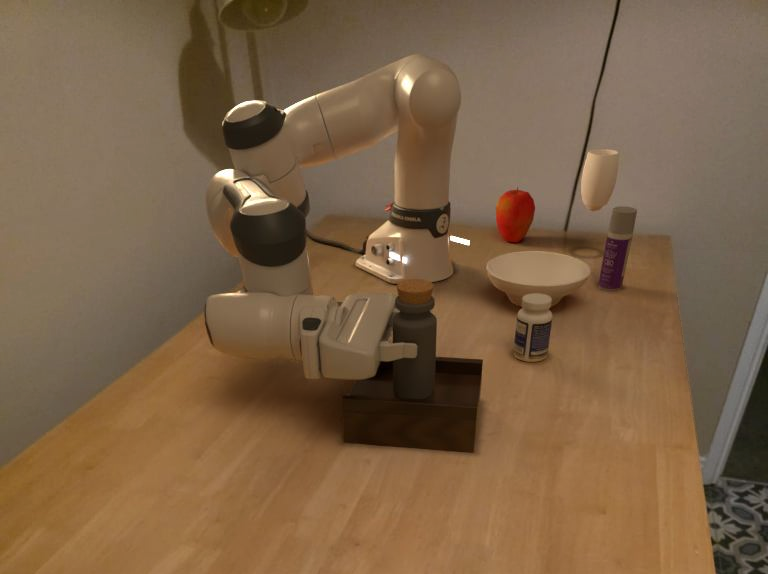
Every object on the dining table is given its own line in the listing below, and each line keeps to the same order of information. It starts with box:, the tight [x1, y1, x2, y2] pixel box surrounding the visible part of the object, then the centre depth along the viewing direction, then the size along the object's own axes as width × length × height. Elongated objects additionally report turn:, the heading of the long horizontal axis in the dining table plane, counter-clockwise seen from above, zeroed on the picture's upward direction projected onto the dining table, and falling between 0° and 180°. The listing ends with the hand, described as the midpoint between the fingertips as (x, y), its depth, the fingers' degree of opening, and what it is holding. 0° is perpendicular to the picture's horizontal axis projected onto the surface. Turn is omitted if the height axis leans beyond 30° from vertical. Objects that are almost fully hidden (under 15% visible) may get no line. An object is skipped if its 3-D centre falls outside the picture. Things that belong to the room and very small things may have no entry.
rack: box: [341, 356, 484, 453], centre depth 95 cm, size 18×14×7 cm
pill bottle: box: [513, 293, 553, 363], centre depth 110 cm, size 6×6×10 cm
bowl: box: [485, 250, 592, 307], centre depth 129 cm, size 20×20×7 cm
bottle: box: [392, 279, 438, 399], centre depth 89 cm, size 6×6×15 cm
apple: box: [495, 187, 536, 243], centre depth 157 cm, size 9×9×12 cm
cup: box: [580, 148, 620, 213], centre depth 147 cm, size 7×7×21 cm
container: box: [597, 206, 638, 292], centre depth 132 cm, size 5×5×15 cm
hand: (421, 335), depth 88 cm, fingers open, 7 cm apart
